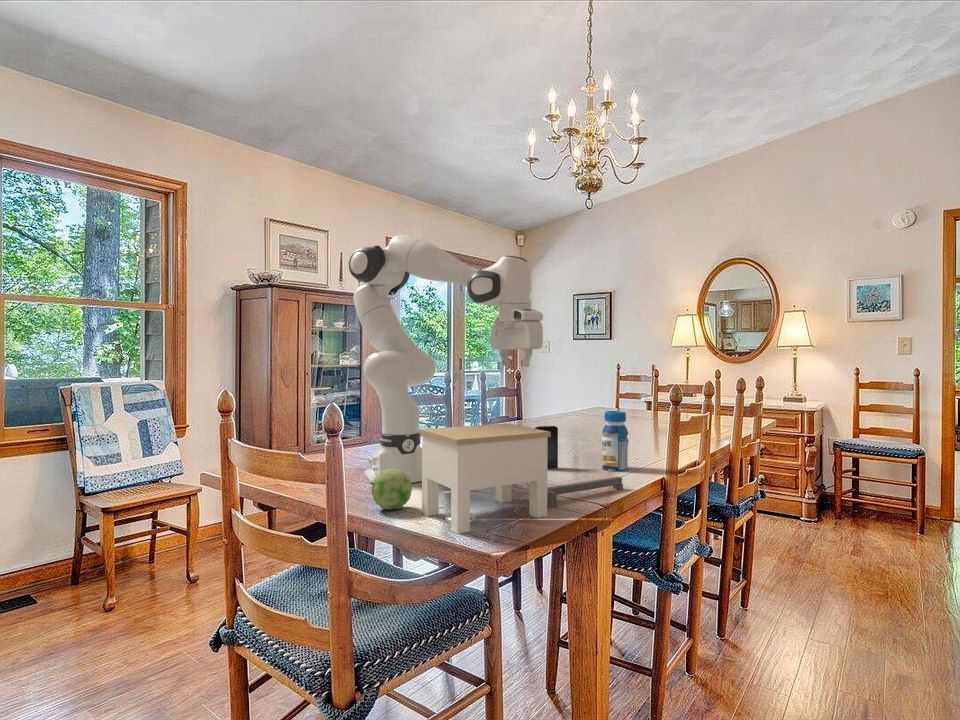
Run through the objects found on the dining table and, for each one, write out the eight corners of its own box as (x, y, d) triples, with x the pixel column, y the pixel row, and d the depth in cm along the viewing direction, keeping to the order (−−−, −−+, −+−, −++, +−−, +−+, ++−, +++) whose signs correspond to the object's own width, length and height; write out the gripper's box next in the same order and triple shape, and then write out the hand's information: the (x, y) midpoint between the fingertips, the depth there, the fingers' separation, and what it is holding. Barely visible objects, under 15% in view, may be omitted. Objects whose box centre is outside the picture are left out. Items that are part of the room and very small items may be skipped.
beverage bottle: (631, 476, 176) (631, 413, 175) (604, 476, 176) (604, 413, 175) (624, 470, 184) (624, 410, 184) (599, 470, 184) (599, 410, 184)
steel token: (439, 520, 130) (439, 514, 130) (465, 515, 133) (465, 510, 133) (455, 527, 124) (455, 522, 124) (481, 522, 128) (481, 517, 128)
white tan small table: (419, 512, 134) (419, 429, 134) (505, 499, 147) (506, 423, 147) (456, 534, 118) (456, 439, 118) (550, 517, 131) (550, 431, 130)
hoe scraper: (551, 510, 137) (551, 493, 137) (529, 502, 145) (529, 485, 145) (631, 496, 151) (631, 480, 151) (608, 489, 159) (608, 474, 159)
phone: (556, 471, 183) (556, 425, 183) (557, 471, 182) (557, 426, 182) (533, 472, 181) (534, 426, 181) (535, 473, 180) (535, 426, 180)
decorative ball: (420, 508, 138) (420, 468, 138) (389, 517, 130) (389, 475, 130) (393, 501, 144) (393, 463, 144) (362, 509, 137) (363, 469, 137)
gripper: (485, 317, 158) (485, 365, 158) (527, 312, 141) (527, 367, 141) (504, 318, 162) (503, 365, 162) (547, 313, 144) (547, 367, 144)
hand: (515, 366), depth 151 cm, fingers open, 8 cm apart
